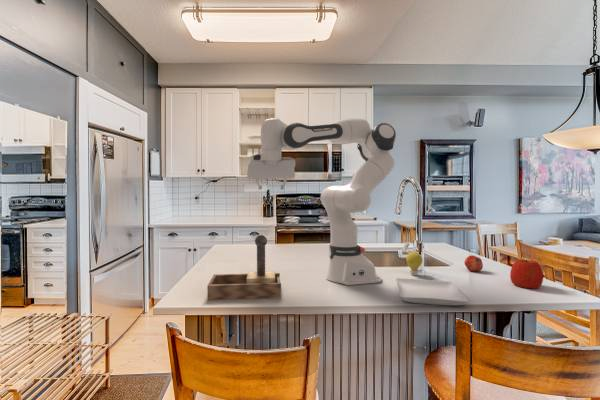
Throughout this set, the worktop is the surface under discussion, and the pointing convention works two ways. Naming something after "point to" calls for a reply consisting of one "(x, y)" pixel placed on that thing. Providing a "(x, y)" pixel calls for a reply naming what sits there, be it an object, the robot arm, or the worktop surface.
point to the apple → (526, 274)
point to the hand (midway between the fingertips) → (271, 189)
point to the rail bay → (241, 288)
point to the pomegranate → (473, 263)
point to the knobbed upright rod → (261, 265)
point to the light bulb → (414, 262)
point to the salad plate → (430, 292)
